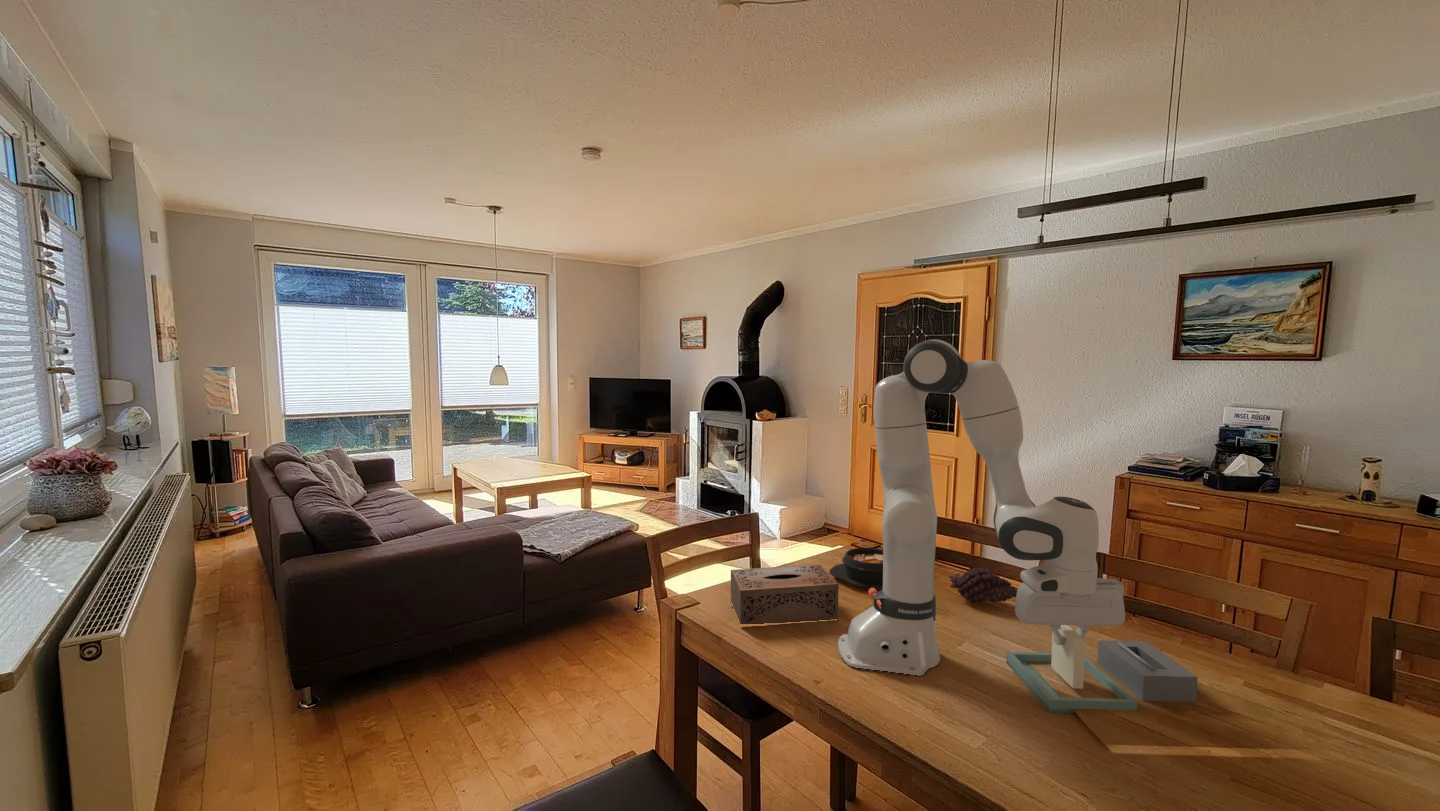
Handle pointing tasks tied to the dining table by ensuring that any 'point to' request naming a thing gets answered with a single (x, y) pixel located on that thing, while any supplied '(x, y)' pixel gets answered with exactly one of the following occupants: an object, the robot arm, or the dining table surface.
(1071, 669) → the cream flat slab
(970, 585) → the pine cone
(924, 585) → the robot arm
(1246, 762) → the dining table surface
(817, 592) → the tissue box cover
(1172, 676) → the holder
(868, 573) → the casserole
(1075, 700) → the teal flat frame
